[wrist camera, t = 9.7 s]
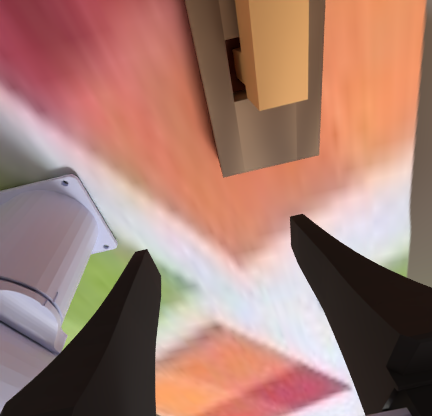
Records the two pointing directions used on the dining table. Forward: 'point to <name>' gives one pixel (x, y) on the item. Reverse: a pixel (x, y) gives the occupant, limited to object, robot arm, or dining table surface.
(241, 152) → the rail
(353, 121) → the dining table surface
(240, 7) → the tan wooden beam
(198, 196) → the dining table surface
